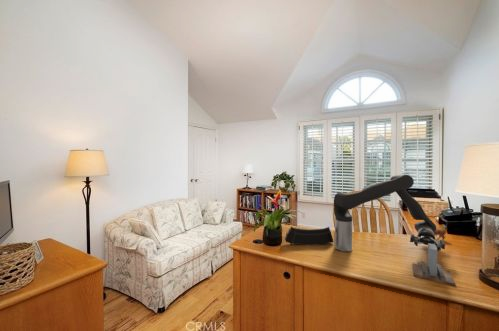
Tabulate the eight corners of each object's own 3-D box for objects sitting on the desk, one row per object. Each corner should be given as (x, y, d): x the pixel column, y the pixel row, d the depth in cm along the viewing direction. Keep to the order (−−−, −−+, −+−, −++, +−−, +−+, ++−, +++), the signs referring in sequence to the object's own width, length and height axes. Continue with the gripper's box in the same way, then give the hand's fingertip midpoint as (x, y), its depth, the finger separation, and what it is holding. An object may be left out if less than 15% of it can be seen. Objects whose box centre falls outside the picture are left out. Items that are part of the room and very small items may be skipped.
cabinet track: (413, 276, 100) (413, 269, 100) (412, 264, 110) (412, 258, 110) (455, 286, 92) (455, 279, 92) (449, 272, 103) (449, 266, 102)
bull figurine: (419, 235, 152) (419, 224, 152) (445, 240, 144) (445, 227, 144) (419, 237, 149) (420, 225, 148) (446, 242, 141) (446, 229, 141)
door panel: (429, 275, 99) (430, 248, 98) (427, 267, 105) (428, 243, 105) (436, 276, 97) (437, 250, 97) (434, 269, 104) (434, 244, 104)
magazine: (335, 228, 141) (291, 215, 139) (337, 230, 138) (292, 217, 135) (327, 253, 141) (283, 241, 139) (329, 256, 138) (284, 243, 136)
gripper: (411, 226, 128) (410, 235, 115) (443, 232, 120) (446, 243, 107) (410, 238, 129) (409, 249, 116) (442, 245, 120) (445, 257, 108)
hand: (427, 246), depth 111 cm, fingers open, 8 cm apart
